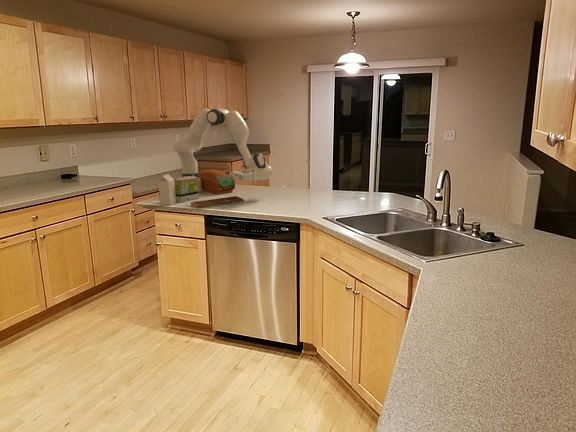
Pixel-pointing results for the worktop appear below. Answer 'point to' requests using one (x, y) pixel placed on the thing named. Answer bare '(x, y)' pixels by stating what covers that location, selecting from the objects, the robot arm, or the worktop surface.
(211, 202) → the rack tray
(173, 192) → the milk carton
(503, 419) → the worktop surface
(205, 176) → the bread
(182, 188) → the tea box
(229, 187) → the food container
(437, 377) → the worktop surface
